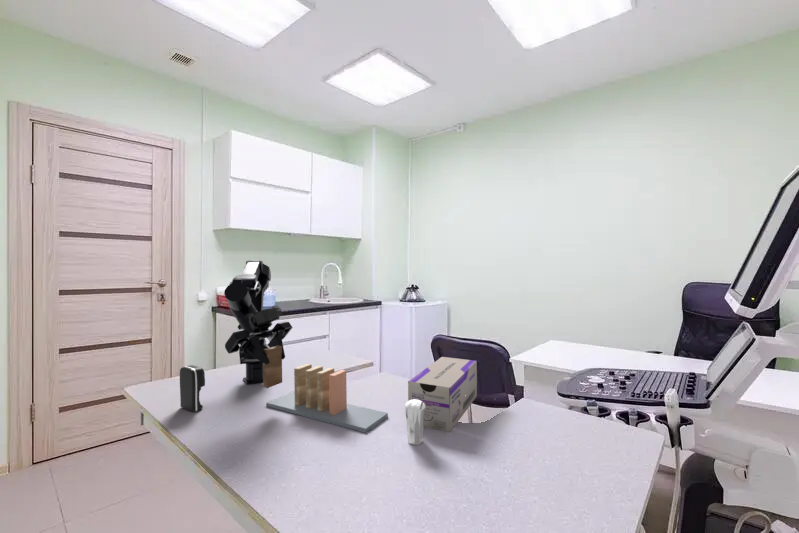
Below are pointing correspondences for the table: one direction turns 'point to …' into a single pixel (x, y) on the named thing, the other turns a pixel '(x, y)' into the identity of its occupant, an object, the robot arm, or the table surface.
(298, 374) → the maple domino
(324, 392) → the maple domino
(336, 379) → the terracotta domino
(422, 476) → the table surface
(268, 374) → the walnut domino
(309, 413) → the slate board
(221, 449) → the table surface
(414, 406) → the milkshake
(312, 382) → the maple domino
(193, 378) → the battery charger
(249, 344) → the robot arm
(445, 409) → the surgical sutures box
